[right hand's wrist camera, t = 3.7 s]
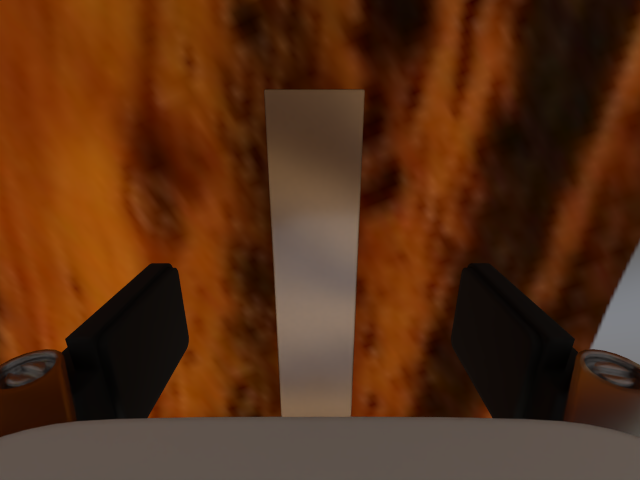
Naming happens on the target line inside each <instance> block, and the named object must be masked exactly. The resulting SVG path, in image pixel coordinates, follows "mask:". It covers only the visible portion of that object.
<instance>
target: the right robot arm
mask: <svg viewBox="0 0 640 480" xmlns="http://www.w3.org/2000/svg"><path fill="white" fill-rule="evenodd" d="M65 340H66V343H67V346H68V347H67V348H66V349H65V350H64V351H63V352H62V353H61V352H59V351H57V350H50V349H45V350H37V351H33V352H29V353H26V354H23V355H20V356H18V357H15V358H13V359H11V360H9V361H7V362H5V363H3V364H1V365H0V480H640V365H639V364H637V363H635V362H633V361H631V360H629V359H627V358H625V357H622V356H620V355H617V354H614V353H611V352H607V351H603V350H595V349H590V350H583V351H581V352H579V353H578V352H577V351H576V350H575V349H574V348H573V347H572V346H573V343H574V340H575V339H574V338H573V337H572V336H571V335H570V334H569V333H567V332H566V331H565V330H564V329H563V328H562V327H561V326H559V325H558V324H557V323H556V322H555V321H554V320H553V319H552V318H550V317H549V316H548V315H547V314H546V313H545V312H544V311H542V310H541V309H540V308H539V307H538V306H537V305H536V304H535V303H533V302H532V301H531V300H530V299H529V298H528V297H527V296H526V295H524V294H523V293H522V292H521V291H520V290H519V289H518V288H516V287H515V286H514V285H513V284H512V283H511V282H510V281H509V280H507V279H506V278H505V277H504V276H503V275H502V274H501V273H499V272H498V271H497V270H496V269H495V268H494V267H493V266H492V265H490V264H489V263H471V264H469V265H468V267H467V268H464V269H463V270H462V274H461V280H460V286H459V292H458V298H457V305H456V311H455V317H454V323H453V329H452V335H451V342H452V347H453V349H454V351H455V353H456V354H457V356H458V358H459V360H460V361H461V363H462V365H463V367H464V368H465V370H466V372H467V374H468V375H469V377H470V379H471V381H472V382H473V384H474V386H475V388H476V390H477V391H478V393H479V395H480V397H481V398H482V400H483V402H484V404H485V405H486V407H487V409H488V411H489V412H490V414H491V416H492V418H445V417H195V418H148V416H149V414H150V412H151V411H152V409H153V407H154V405H155V404H156V402H157V400H158V398H159V397H160V395H161V393H162V391H163V390H164V388H165V386H166V384H167V382H168V381H169V379H170V377H171V375H172V374H173V372H174V370H175V368H176V367H177V365H178V363H179V361H180V360H181V358H182V356H183V354H184V353H185V351H186V349H187V347H188V342H189V335H188V329H187V323H186V317H185V311H184V305H183V298H182V292H181V286H180V280H179V274H178V270H177V269H176V268H173V267H172V265H171V264H169V263H151V264H150V265H148V266H147V267H146V268H145V269H144V270H143V271H142V272H141V273H139V274H138V275H137V276H136V277H135V278H134V279H133V280H131V281H130V282H129V283H128V284H127V285H126V286H125V287H124V288H122V289H121V290H120V291H119V292H118V293H117V294H116V295H114V296H113V297H112V298H111V299H110V300H109V301H108V302H107V303H105V304H104V305H103V306H102V307H101V308H100V309H99V310H98V311H96V312H95V313H94V314H93V315H92V316H91V317H90V318H88V319H87V320H86V321H85V322H84V323H83V324H82V325H81V326H79V327H78V328H77V329H76V330H75V331H74V332H73V333H71V334H70V335H69V336H68V337H67V338H66V339H65Z"/></svg>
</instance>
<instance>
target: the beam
mask: <svg viewBox="0 0 640 480" xmlns="http://www.w3.org/2000/svg"><path fill="white" fill-rule="evenodd" d="M364 93H365V91H364V90H363V89H265V90H264V96H265V115H266V134H267V153H268V172H269V191H270V210H271V229H272V248H273V266H274V285H275V304H276V323H277V342H278V361H279V380H280V399H281V417H351V402H352V379H353V355H354V331H355V307H356V283H357V260H358V236H359V212H360V188H361V164H362V141H363V117H364Z"/></svg>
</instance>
